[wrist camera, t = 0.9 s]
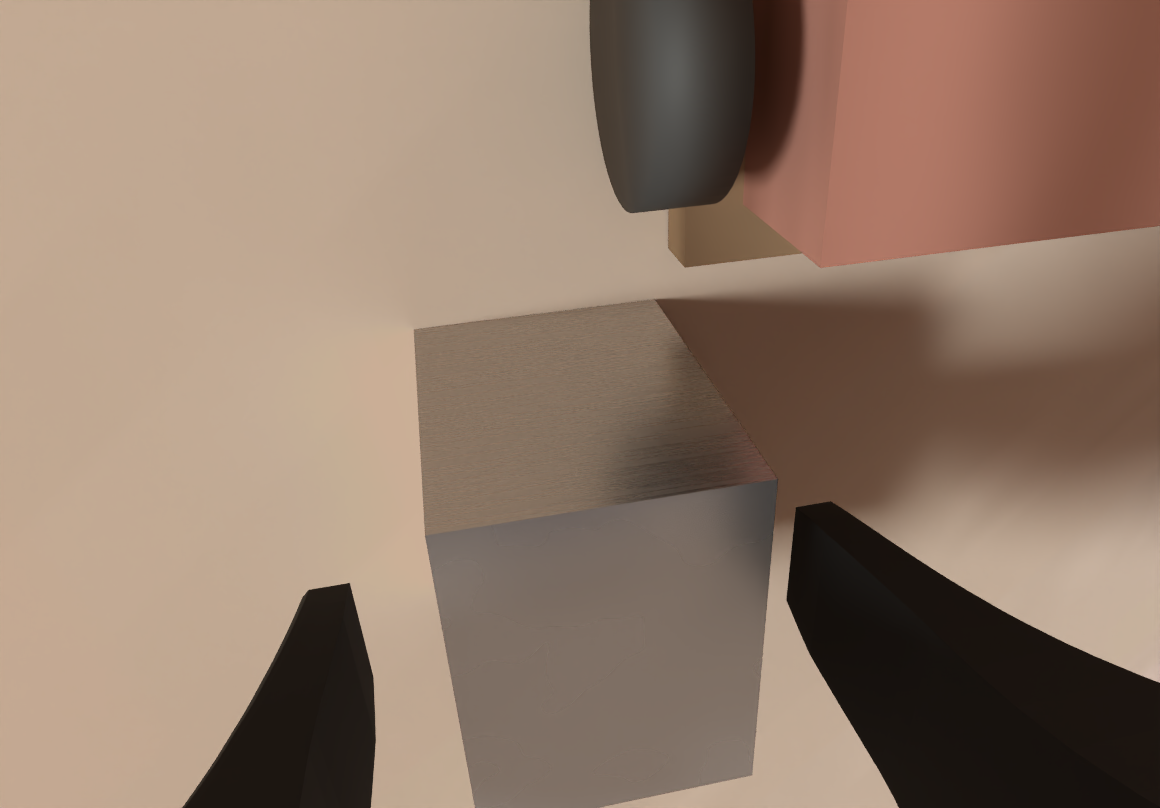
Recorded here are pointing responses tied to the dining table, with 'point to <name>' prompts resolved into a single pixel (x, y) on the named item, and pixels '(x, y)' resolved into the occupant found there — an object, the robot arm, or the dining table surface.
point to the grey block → (592, 556)
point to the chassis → (878, 122)
